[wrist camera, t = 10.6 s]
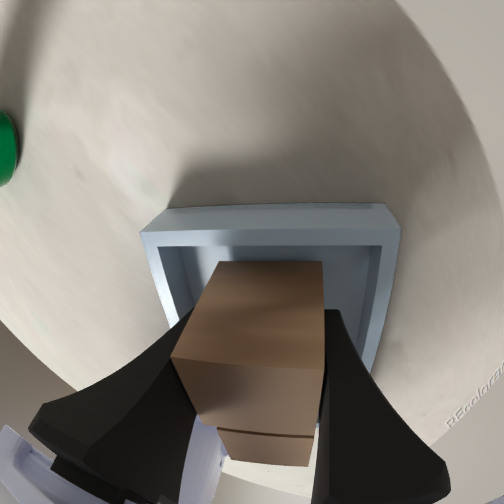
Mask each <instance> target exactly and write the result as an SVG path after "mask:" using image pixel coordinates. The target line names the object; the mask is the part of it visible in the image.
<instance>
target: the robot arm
mask: <svg viewBox="0 0 504 504" xmlns="http://www.w3.org/2000/svg"><path fill="white" fill-rule="evenodd" d="M194 308H195V306H194V307H193V308H192V309H191V310H190V311H189V312H188V313H187V314H186V315H185V316H184V317H183V318H182V319H181V320H179V321H178V322H177V323H176V324H175V325H174V326H173V327H172V328H171V329H170V330H169V331H168V332H166V333H165V334H164V335H163V336H162V337H161V338H160V339H159V340H157V341H156V342H155V343H154V344H153V345H151V346H150V347H149V348H148V349H147V350H145V351H144V352H143V353H142V354H140V355H139V356H138V357H136V358H135V359H134V360H132V361H131V362H130V363H128V364H127V365H125V366H124V367H122V368H121V369H119V370H118V371H116V372H115V373H113V374H111V375H109V376H108V377H106V378H104V379H102V380H100V381H99V382H97V383H95V384H93V385H91V386H89V387H87V388H85V389H83V390H80V391H78V392H76V393H73V394H71V395H69V396H66V397H63V398H60V399H57V400H54V401H51V402H48V403H44V404H43V405H42V406H41V408H40V409H39V411H38V412H37V414H36V416H35V417H34V419H33V420H32V422H31V424H30V425H29V427H28V429H29V432H30V433H31V434H32V435H33V436H34V437H35V438H37V439H38V440H39V441H40V442H41V443H43V444H44V445H45V446H46V447H47V448H49V449H50V450H51V451H52V452H54V453H55V454H56V455H57V457H56V458H55V460H54V461H53V460H52V459H50V458H49V457H47V456H45V455H44V454H43V453H41V452H40V451H39V450H37V449H35V448H34V447H33V446H32V445H31V444H30V443H29V442H28V441H26V440H25V439H24V438H23V437H22V436H20V435H19V434H18V433H17V432H15V431H14V430H13V429H11V428H10V427H9V426H8V425H5V426H4V428H3V429H2V431H1V432H0V480H1V482H2V483H3V484H4V485H5V486H6V488H7V489H8V490H9V491H10V493H11V494H12V495H13V496H14V497H15V499H16V500H17V501H18V502H19V503H20V504H211V503H212V502H213V499H214V496H215V492H216V489H217V485H218V482H219V478H220V474H221V471H222V467H223V464H224V460H225V457H229V455H228V453H227V451H226V449H225V447H224V444H223V442H222V440H221V438H220V436H219V434H218V432H217V430H216V429H217V427H216V426H210V425H204V424H203V423H202V421H201V419H200V418H199V416H198V414H197V412H196V410H195V408H194V406H193V404H192V402H191V400H190V398H189V396H188V394H187V392H186V390H185V388H184V386H183V384H182V381H181V379H180V377H179V375H178V373H177V371H176V368H175V366H174V364H173V362H172V360H171V357H170V356H171V354H172V352H173V350H174V348H175V346H176V344H177V342H178V340H179V338H180V336H181V334H182V332H183V330H184V328H185V326H186V324H187V322H188V320H189V318H190V316H191V314H192V312H193V310H194ZM324 337H325V356H324V376H323V383H322V390H321V397H320V404H319V438H318V450H317V460H316V469H315V477H314V485H313V492H312V499H311V504H433V503H435V502H437V501H439V500H441V499H442V498H444V497H446V496H447V495H448V494H449V493H450V491H451V485H450V478H449V473H448V470H447V466H446V463H445V461H444V460H443V459H442V458H440V457H439V456H438V455H437V454H436V453H435V452H434V451H433V450H431V449H430V448H429V447H428V446H427V445H426V444H425V443H424V442H423V441H422V440H421V439H420V438H419V437H418V436H417V435H416V434H415V433H414V432H413V431H412V430H411V428H410V427H409V426H408V425H407V424H406V423H405V421H404V420H403V419H402V418H401V417H400V416H399V414H398V413H397V412H396V411H395V410H394V408H393V407H392V406H391V404H390V403H389V402H388V400H387V399H386V398H385V396H384V395H383V393H382V392H381V391H380V389H379V388H378V386H377V385H376V383H375V382H374V380H373V378H372V377H371V375H370V374H369V372H368V370H367V368H366V367H365V365H364V363H363V361H362V360H361V358H360V356H359V354H358V352H357V350H356V348H355V346H354V344H353V342H352V340H351V338H350V336H349V333H348V331H347V329H346V326H345V324H344V321H343V318H342V315H341V312H340V311H339V310H338V309H324ZM486 504H504V495H503V496H501V497H499V498H497V499H494V500H492V501H490V502H488V503H486Z"/></svg>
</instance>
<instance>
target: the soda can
mask: <svg viewBox="0 0 504 504" xmlns="http://www.w3.org/2000/svg"><path fill="white" fill-rule="evenodd" d="M18 153H19V146H18V137H17V132H16V128H15V126H14V123H13V121H12V120H11V118H10V117H9V116H8V115H7V114H6V113H5V112H3V111H2V110H0V187H2V186H4V185H6V184H7V183H8V182H9V181H10V179H11V177H12V175H13V173H14V171H15V168H16V165H17V161H18Z"/></svg>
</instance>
